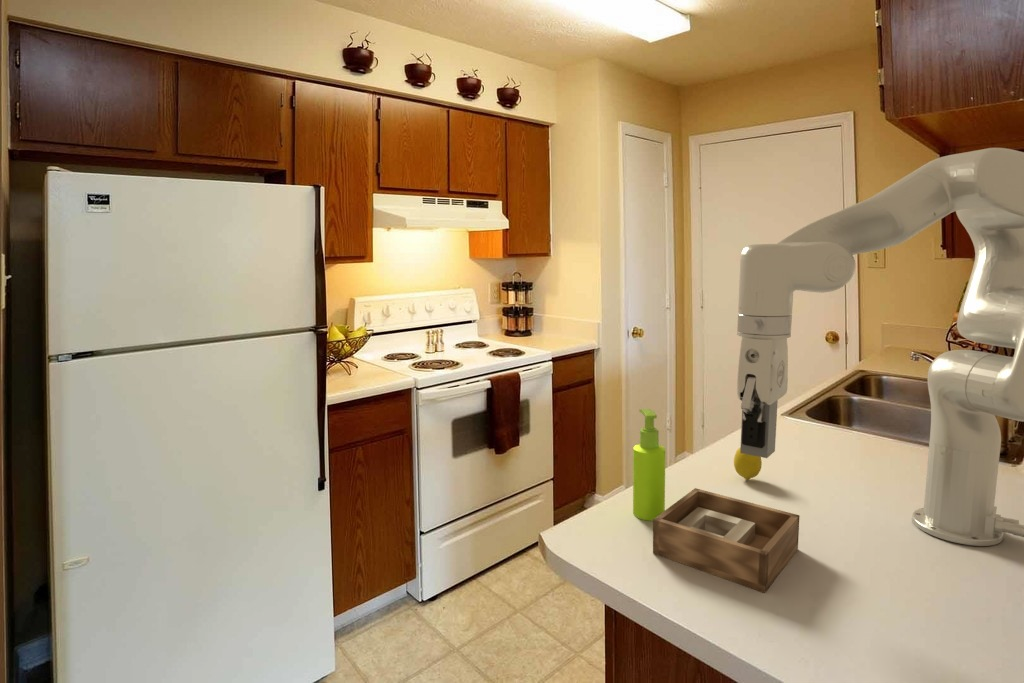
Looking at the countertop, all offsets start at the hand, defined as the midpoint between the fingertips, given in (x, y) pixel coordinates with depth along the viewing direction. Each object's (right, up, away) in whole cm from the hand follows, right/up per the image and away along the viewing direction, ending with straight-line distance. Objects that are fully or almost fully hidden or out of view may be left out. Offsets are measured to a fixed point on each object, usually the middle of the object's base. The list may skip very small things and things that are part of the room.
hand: (758, 440), depth 90 cm
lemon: (+12, -15, +34) cm, 39 cm away
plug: (0, -2, 0) cm, 2 cm away
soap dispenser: (-12, -18, +20) cm, 30 cm away
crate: (-3, -19, +6) cm, 20 cm away
